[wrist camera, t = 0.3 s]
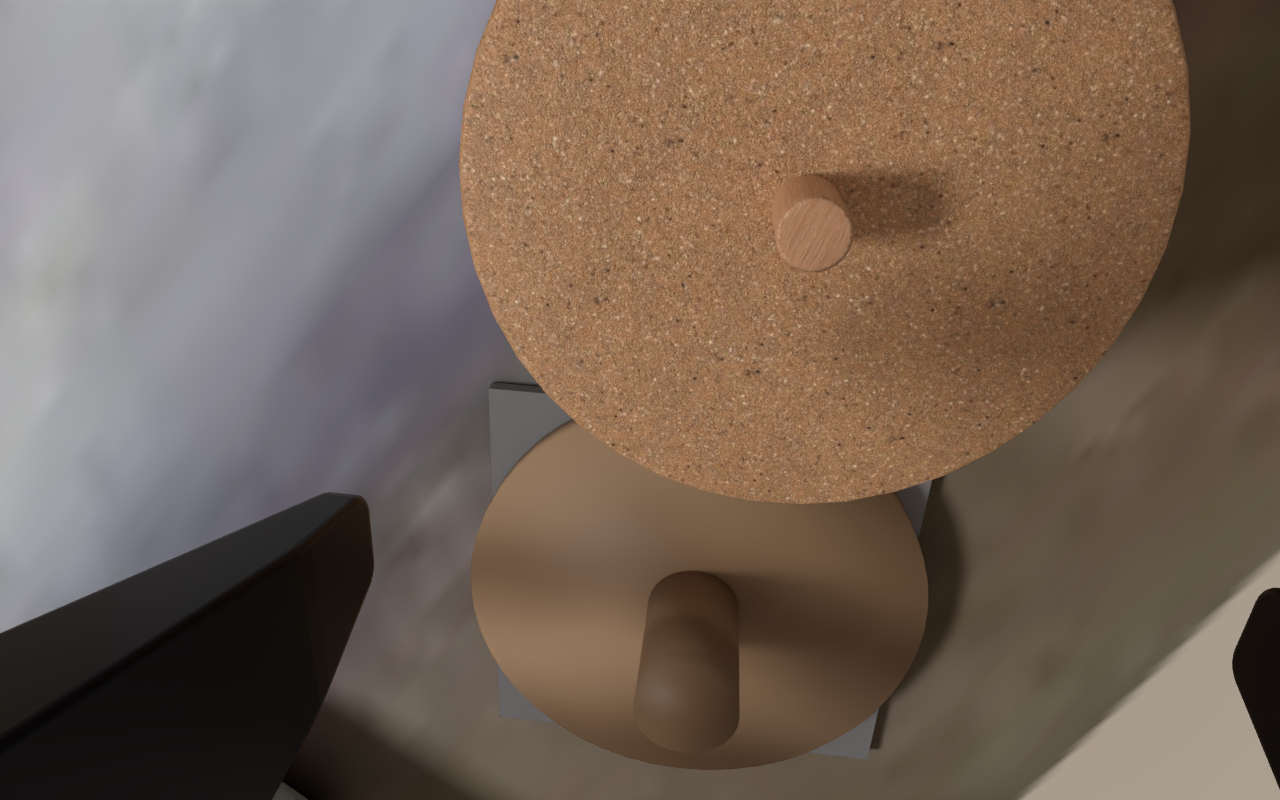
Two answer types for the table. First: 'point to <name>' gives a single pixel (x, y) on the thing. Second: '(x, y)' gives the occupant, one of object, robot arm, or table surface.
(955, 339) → the lidded jar
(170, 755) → the robot arm
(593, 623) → the lid
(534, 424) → the mat
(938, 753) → the table surface
